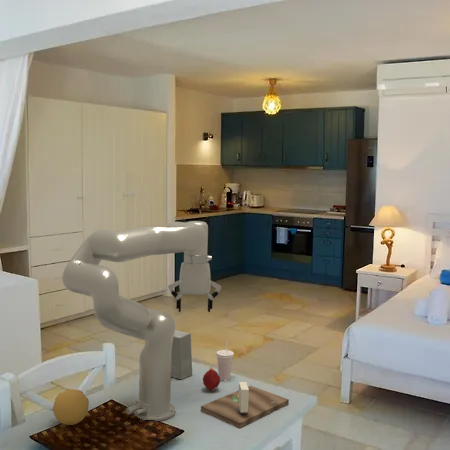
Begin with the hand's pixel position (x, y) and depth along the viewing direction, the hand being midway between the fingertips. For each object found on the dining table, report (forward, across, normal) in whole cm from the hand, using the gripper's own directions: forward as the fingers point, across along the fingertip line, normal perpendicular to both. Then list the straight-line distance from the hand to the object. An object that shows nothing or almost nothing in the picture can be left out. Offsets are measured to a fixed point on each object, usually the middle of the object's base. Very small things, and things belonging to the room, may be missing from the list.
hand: (194, 311), depth 179 cm
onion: (+28, -6, -3) cm, 29 cm away
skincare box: (+28, +5, -17) cm, 34 cm away
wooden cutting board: (+28, -17, +10) cm, 34 cm away
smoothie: (+28, -12, -14) cm, 34 cm away
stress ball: (+28, +35, +21) cm, 50 cm away
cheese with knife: (+26, -15, +14) cm, 33 cm away
